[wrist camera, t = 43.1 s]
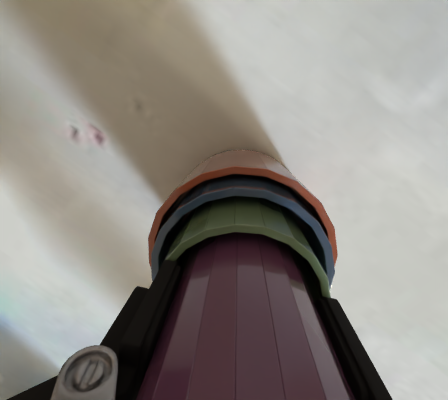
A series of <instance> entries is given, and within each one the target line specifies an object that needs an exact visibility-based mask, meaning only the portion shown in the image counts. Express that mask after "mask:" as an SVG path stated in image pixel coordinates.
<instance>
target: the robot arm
mask: <svg viewBox="0 0 448 400" xmlns="http://www.w3.org/2000/svg"><path fill="white" fill-rule="evenodd" d="M177 264H178V262H175V261H171V260H167V259H165V260H164V262H163V263H162V265H161V267H160V269H159V271H158V273H157V275H156V277H155V278H154V280H153V282H152V284H151V286H150V288H149V289H147V288H143V287H139V286H137V287H136V288H135V289H134V291H133V292H132V294H131V295H130V297H129V299H128V300H127V302H126V303H125V305H124V307H123V308H122V310H121V312H120V313H119V315H118V316H117V318H116V320H115V321H114V323H113V324H112V326H111V328H110V329H109V331H108V332H107V334H106V336H105V337H104V339H103V340H102V342H101V344H100V345H94V346H90V347H86V348H83V349H81V350H79V351H77V352H76V353H75V354H73V355H72V356H71V357H69V359H68V360H67V361H66V362H65V363H64V364H63V366H62V368H61V370H60V372H59V374H58V376H56V377H54V378H51V379H49V380H47V381H45V382H43V383H41V384H39V385H37V386H34V387H32V388H30V389H28V390H26V391H24V392H22V393H20V394H17V395H15V396H13V397H11V398H9V399H7V400H135V398H136V395H137V393H138V390H139V387H140V385H141V382H142V380H143V377H144V375H145V372H146V370H147V367H148V364H149V361H150V359H151V356H152V353H153V351H154V348H155V345H156V343H157V340H158V337H159V335H160V332H161V329H162V327H163V324H164V321H165V318H166V316H167V313H168V310H169V308H170V305H171V302H172V300H173V297H174V294H175V292H176V289H177V286H178V282H179V277H180V272H181V266H177ZM315 305H316V307H317V310H318V312H319V315H320V317H321V319H322V322H323V324H324V327H325V329H326V331H327V334H328V336H329V339H330V341H331V343H332V346H333V348H334V350H335V353H336V355H337V358H338V360H339V362H340V365H341V367H342V370H343V372H344V374H345V377H346V379H347V382H348V384H349V386H350V389H351V391H352V393H353V396H354V398H355V400H392V398H391V396H390V394H389V392H388V390H387V389H386V387H385V385H384V383H383V381H382V380H381V378H380V376H379V374H378V372H377V371H376V369H375V367H374V365H373V363H372V362H371V360H370V358H369V356H368V354H367V352H366V351H365V349H364V347H363V345H362V343H361V342H360V340H359V338H358V336H357V334H356V333H355V331H354V329H353V327H352V325H351V324H350V322H349V320H348V318H347V316H346V314H345V313H344V311H343V309H342V307H341V305H340V304H339V302H338V301H337V300H336V299H333V298H329V297H324V296H323V297H321V298H320V299H317V300H316V302H315Z"/></svg>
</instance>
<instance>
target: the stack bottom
mask: <svg viewBox="0 0 448 400" xmlns="http://www.w3.org/2000/svg"><path fill="white" fill-rule="evenodd" d="M231 174H243V175H255V176H265V177H268V178H270V179H272V180H275V181H277V182H280V183H282V184H284V185H287V186H289V187H291V188H292V189H293V191H294V192H295V193H296V194H297V196H298V197H299V198H300V199H301V201H302V202H303V203H304V204H305V206H306V207H307V208H308V209H309V211H310V212H311V213H312V214H313V216H314V217H315V218H316V220H317V221H318V222H319V223H320V225H321V227H322V229H323V231H324V233H325V235H326V236H327V238H328V240H329V242H330V244H331V246H332V251H333V260H334V267H335V263H336V259H337V246H336V237H335V229H334V226H333V224H332V222H331V221H330V219H329V217H328V215H327V213H326V211H325V209H324V207H323V205H322V203H321V202H320V201H319V200H318V199H317V198H316V197H315V196H314V195H313V194H312V193H311V192H310V191H309V190H308V189H307V188H306V187H305V186H304V185H303V184H302V183H301V182H300V181H299V180H298V179H296V178H295V177H294V176H293V175H292V174H291V173H290V172H289V171H288V170H287V169H286V168H285V167H284V166H283V165H281V164H280V163H279V162H278V161H277V160H276V159H274V158H272V157H269V156H267V155H265V154H263V153H260V152H256V151H251V150H229V151H225V152H221V153H219V154H215V155H213V156H212V157H210V158H208V159H206V160H205V161H204V162H202V163H200V164H199V165H198V166H197V167H196V168H195V169H194V170H193V171H192V172H191V173H190V174H189V175H188V176H187V177H186V178H185V179H184V181H183V182H182V183H181V184H180V185H179V186H178V187H177V188H176V189H175V190H174V191H173V193H172V194H171V195H170V196H169V198H168V199H167V200H166V201H165V203H164V204H163V205H162V206H161V207H160V209H159V210H158V211H157V213H156V216H155V219H154V222H153V225H152V228H151V231H150V234H149V238H148V244H149V264H150V267H151V253H152V250H153V247H154V244H155V242H156V239H157V236H158V233H159V231H160V229H161V228H162V226H163V225H164V223H165V222H166V221H167V219H168V218H169V217H170V215H171V214H172V212H173V211H174V210H175V208H176V207H177V206H178V204H179V203H180V201H181V200H182V199H183V197H184V196H185V195H186V193H187V192H188V190H190V189H191V188H193V187H195V186H196V185H198V184H200V183H201V182H203V181H205V180H209V179H213V178H218V177H222V176H226V175H231ZM151 269H152V268H151Z"/></svg>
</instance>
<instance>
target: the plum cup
mask: <svg viewBox="0 0 448 400" xmlns="http://www.w3.org/2000/svg"><path fill="white" fill-rule="evenodd" d="M135 400H355V398H354V396H353V393H352V391H351V389H350V386H349V384H348V382H347V379H346V377H345V374H344V372H343V370H342V367H341V365H340V362H339V360H338V358H337V355H336V353H335V350H334V348H333V346H332V343H331V341H330V339H329V336H328V334H327V331H326V329H325V327H324V324H323V322H322V319H321V317H320V315H319V312H318V310H317V307H316V305H315V303H314V300H313V298H312V296H311V293H310V291H309V288H308V286H307V284H306V281H305V279H304V276H303V274H302V272H301V269H300V267H299V264H298V262H297V260H296V257H295V255H294V253H293V250H292V248H291V246H290V245H288V244H286V243H283V242H281V241H278V240H276V239H273V238H271V237H268V236H266V235H263V234H252V233H241V232H232V233H227V234H222V235H217V236H212V237H208V238H206V239H204V240H202V241H200V242H199V243H197V244H195V245H193V246H192V248H191V251H190V253H189V256H188V259H187V261H186V264H185V267H184V270H183V272H182V275H181V278H180V280H179V283H178V286H177V289H176V292H175V294H174V297H173V300H172V302H171V305H170V308H169V310H168V313H167V316H166V318H165V321H164V324H163V327H162V329H161V332H160V335H159V337H158V340H157V343H156V345H155V348H154V351H153V353H152V356H151V359H150V361H149V364H148V367H147V370H146V372H145V375H144V377H143V380H142V382H141V385H140V387H139V390H138V393H137V395H136V398H135Z"/></svg>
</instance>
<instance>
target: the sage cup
mask: <svg viewBox="0 0 448 400" xmlns="http://www.w3.org/2000/svg"><path fill="white" fill-rule="evenodd" d="M232 232H241V233H252V234H263V235H266V236H268V237H271V238H273V239H276V240H278V241H281V242H283V243H286V244H288V245H290V246H291V248H292V250H293V253H294V255H295V257H296V260H297V262H298V264H299V267H300V269H301V272H302V274H303V276H304V279H305V281H306V284H307V286H308V288H309V291H310V293H311V296H312V298H313V300H314V303H315V302H316V300H317V299H320V298H321V297H323V296H324V297H329V298H331V296H330V289H329V281H328V277H327V275H326V273H325V272H324V270H323V268H322V267H321V265H320V263H319V261H318V260H317V258H316V256H315V254H314V253H313V251H312V249H311V247H310V246H309V244H308V242H307V240H306V239H305V237H304V235H303V233H302V232H301V230H300V228H299V226H298V225H297V223H296V221H295V219H294V218H293V216H292V214H291V213H290V211H289V209H288V208H287V207H284V206H282V205H279V204H277V203H274V202H272V201H270V200H267V199H265V198H256V197H244V196H231V197H226V198H221V199H217V200H212V201H208V202H205V203H203V204H202V205H200V206H198V207H196V208H195V209H193V210H191V211H190V213H189V215H188V217H187V219H186V221H185V222H184V224H183V226H182V228H181V230H180V232H179V234H178V236H177V237H176V239H175V241H174V243H173V245H172V247H171V249H170V251H169V252H168V254H167V256H166V258H165V259H167V260H171V261H175V262H178V264H177V266H181V272H180V277H179V280H180V278H181V275H182V272H183V270H184V267H185V264H186V261H187V259H188V256H189V253H190V251H191V248H192V246H193V245H195V244H197V243H199V242H200V241H202V240H204V239H206V238H208V237H212V236H217V235H222V234H227V233H232ZM178 283H179V282H178Z"/></svg>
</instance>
